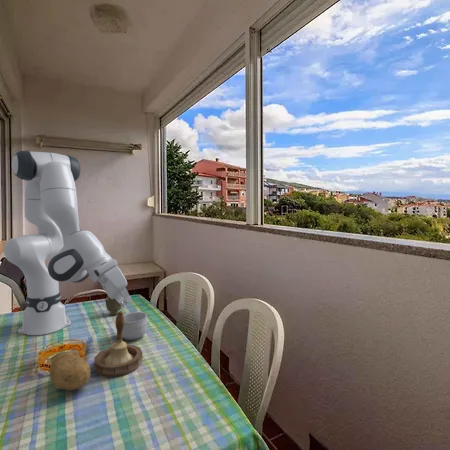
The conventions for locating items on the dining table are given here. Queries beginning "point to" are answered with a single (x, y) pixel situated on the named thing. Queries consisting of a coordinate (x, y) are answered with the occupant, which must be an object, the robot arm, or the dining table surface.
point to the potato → (69, 371)
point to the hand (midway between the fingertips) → (127, 303)
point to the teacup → (134, 325)
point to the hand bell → (119, 345)
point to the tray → (117, 369)
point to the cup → (112, 306)
